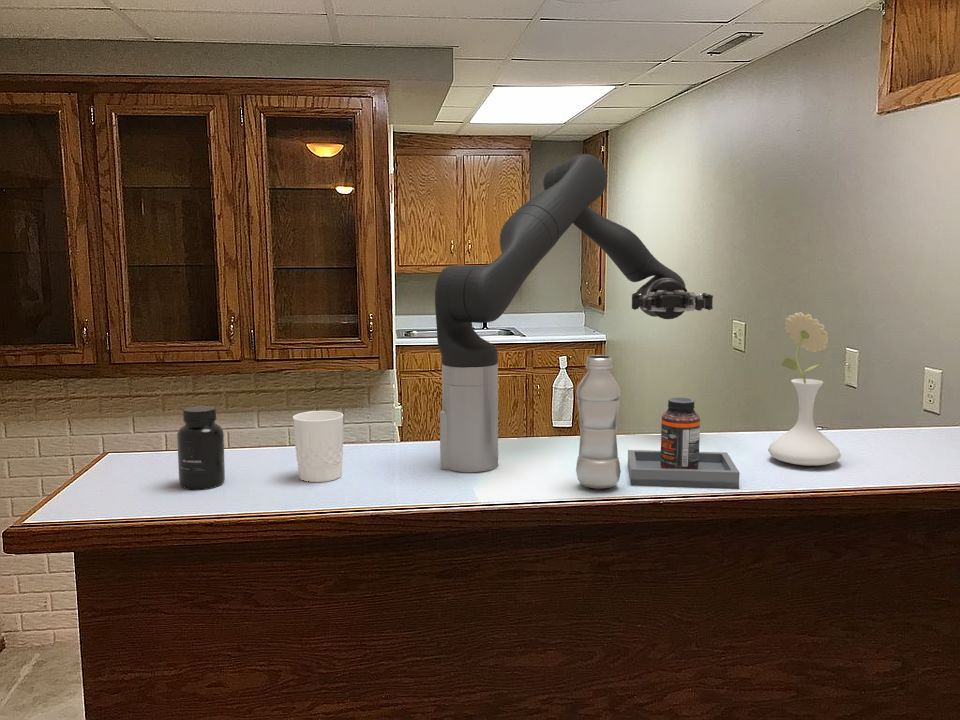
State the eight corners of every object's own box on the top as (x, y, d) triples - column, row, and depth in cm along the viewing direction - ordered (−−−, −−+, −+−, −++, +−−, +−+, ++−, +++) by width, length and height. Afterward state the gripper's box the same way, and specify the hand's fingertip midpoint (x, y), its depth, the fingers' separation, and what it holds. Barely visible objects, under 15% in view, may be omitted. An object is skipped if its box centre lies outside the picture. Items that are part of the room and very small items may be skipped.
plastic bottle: (619, 494, 123) (621, 360, 120) (573, 492, 124) (574, 359, 121) (621, 482, 129) (623, 354, 126) (577, 480, 130) (578, 353, 128)
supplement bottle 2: (652, 467, 133) (653, 398, 132) (679, 462, 136) (681, 394, 135) (678, 476, 128) (680, 404, 127) (706, 471, 131) (708, 400, 130)
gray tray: (630, 485, 127) (631, 469, 127) (627, 464, 139) (628, 449, 139) (738, 488, 125) (739, 472, 125) (726, 467, 137) (727, 452, 137)
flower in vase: (854, 469, 135) (863, 315, 132) (789, 473, 133) (796, 317, 130) (811, 449, 148) (818, 309, 144) (750, 452, 146) (756, 310, 143)
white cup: (315, 467, 139) (313, 409, 137) (355, 473, 135) (353, 412, 134) (285, 480, 132) (282, 418, 130) (325, 486, 128) (323, 422, 127)
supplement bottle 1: (183, 493, 125) (178, 414, 124) (176, 481, 131) (172, 406, 130) (229, 486, 129) (225, 410, 127) (221, 475, 135) (217, 402, 133)
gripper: (629, 278, 161) (633, 282, 145) (705, 278, 159) (717, 282, 143) (628, 317, 162) (632, 325, 146) (704, 317, 160) (716, 326, 144)
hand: (674, 304), depth 145 cm, fingers open, 8 cm apart
